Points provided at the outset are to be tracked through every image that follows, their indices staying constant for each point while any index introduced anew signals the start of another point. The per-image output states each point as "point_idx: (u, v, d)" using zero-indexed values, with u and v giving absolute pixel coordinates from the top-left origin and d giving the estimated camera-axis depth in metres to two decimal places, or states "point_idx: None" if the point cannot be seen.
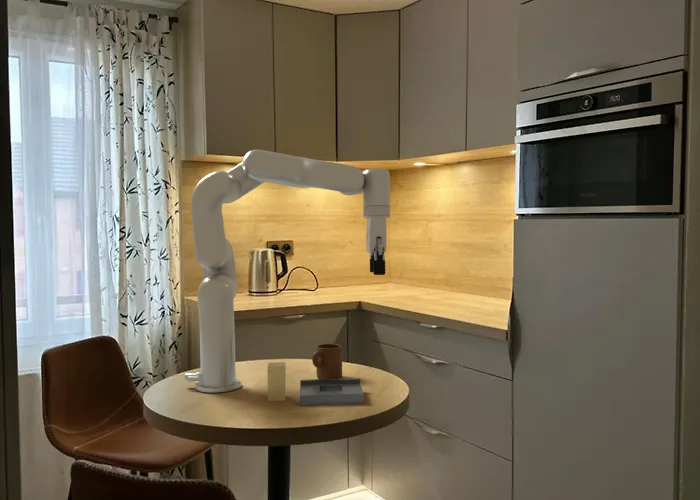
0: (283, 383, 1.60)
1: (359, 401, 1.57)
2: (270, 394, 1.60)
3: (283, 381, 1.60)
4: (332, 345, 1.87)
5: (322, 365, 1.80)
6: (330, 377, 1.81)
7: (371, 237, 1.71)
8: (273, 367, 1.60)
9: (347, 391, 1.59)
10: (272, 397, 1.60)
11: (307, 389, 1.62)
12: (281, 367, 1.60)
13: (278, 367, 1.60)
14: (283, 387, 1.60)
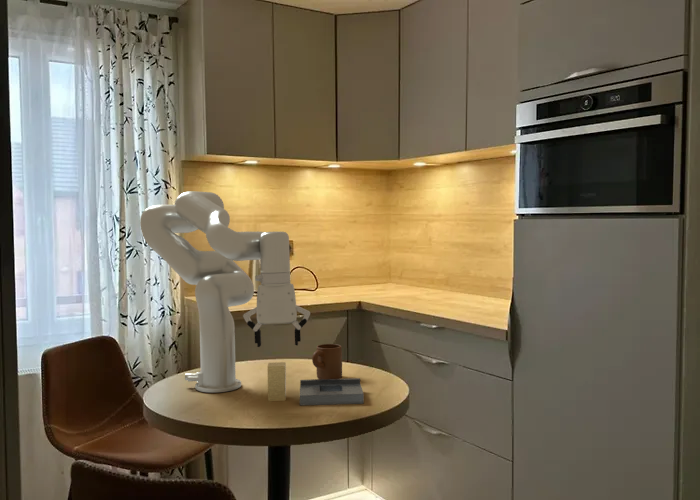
0: (283, 383, 1.60)
1: (359, 401, 1.57)
2: (270, 394, 1.60)
3: (283, 381, 1.60)
4: (332, 345, 1.87)
5: (322, 365, 1.80)
6: (330, 377, 1.81)
7: (295, 305, 1.60)
8: (273, 367, 1.60)
9: (347, 391, 1.59)
10: (272, 397, 1.60)
11: (307, 389, 1.62)
12: (281, 367, 1.60)
13: (278, 367, 1.60)
14: (283, 387, 1.60)
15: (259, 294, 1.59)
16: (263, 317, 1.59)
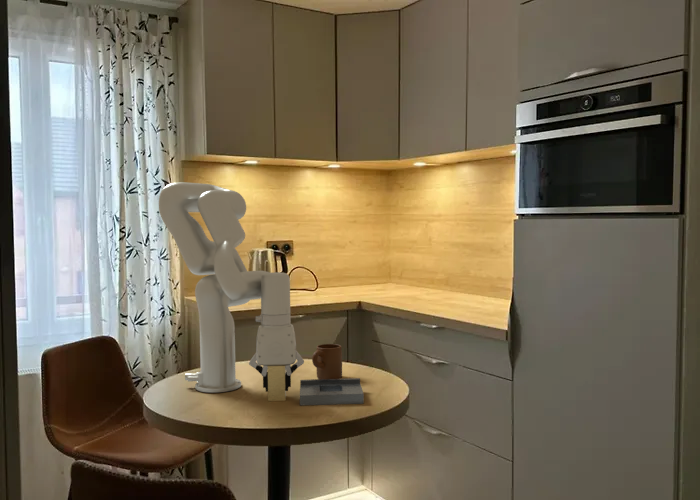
0: (283, 383, 1.60)
1: (359, 401, 1.57)
2: (270, 394, 1.60)
3: (283, 381, 1.60)
4: (332, 345, 1.87)
5: (322, 365, 1.80)
6: (330, 377, 1.81)
7: (295, 347, 1.60)
8: (273, 367, 1.60)
9: (347, 391, 1.59)
10: (272, 397, 1.60)
11: (307, 389, 1.62)
12: (281, 367, 1.60)
13: (278, 367, 1.60)
14: (283, 387, 1.60)
15: (259, 335, 1.59)
16: (263, 358, 1.59)
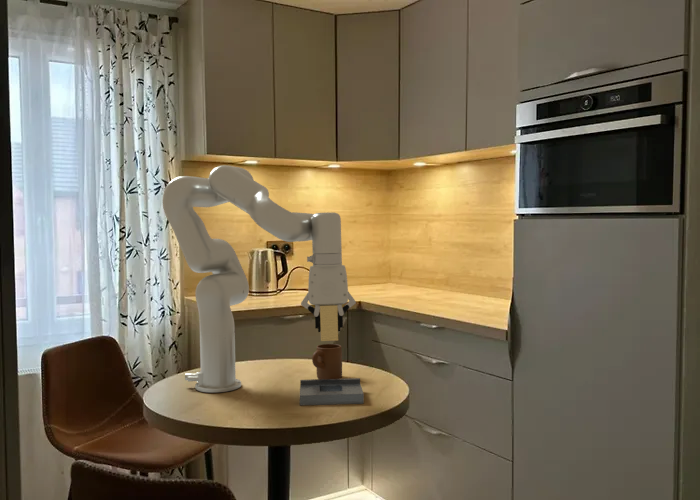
0: (336, 323, 1.59)
1: (359, 401, 1.57)
2: (323, 334, 1.59)
3: (336, 321, 1.59)
4: (332, 345, 1.87)
5: (322, 365, 1.80)
6: (330, 377, 1.81)
7: (347, 287, 1.60)
8: (326, 306, 1.59)
9: (347, 391, 1.59)
10: (325, 337, 1.59)
11: (307, 389, 1.62)
12: (334, 306, 1.59)
13: (331, 306, 1.59)
14: (336, 327, 1.60)
15: (311, 275, 1.59)
16: (315, 298, 1.59)
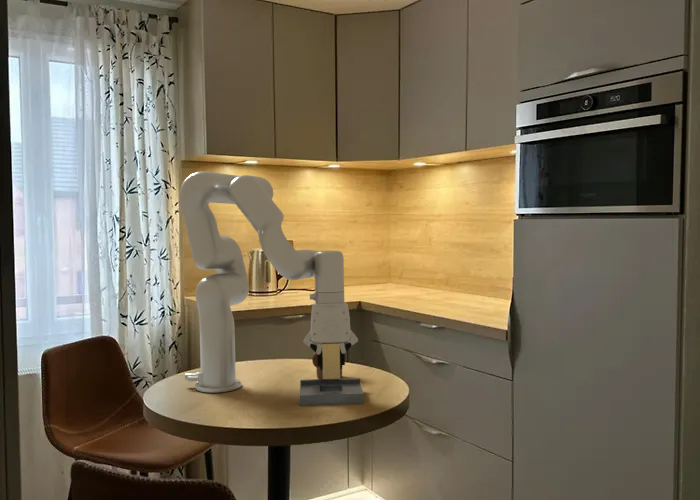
0: (338, 361, 1.60)
1: (359, 401, 1.57)
2: (325, 372, 1.60)
3: (338, 359, 1.60)
4: None
5: None
6: None
7: (349, 325, 1.60)
8: (328, 345, 1.60)
9: (347, 391, 1.59)
10: (327, 375, 1.60)
11: (307, 389, 1.62)
12: (336, 345, 1.60)
13: (333, 345, 1.60)
14: (338, 365, 1.60)
15: (314, 313, 1.59)
16: (318, 336, 1.59)
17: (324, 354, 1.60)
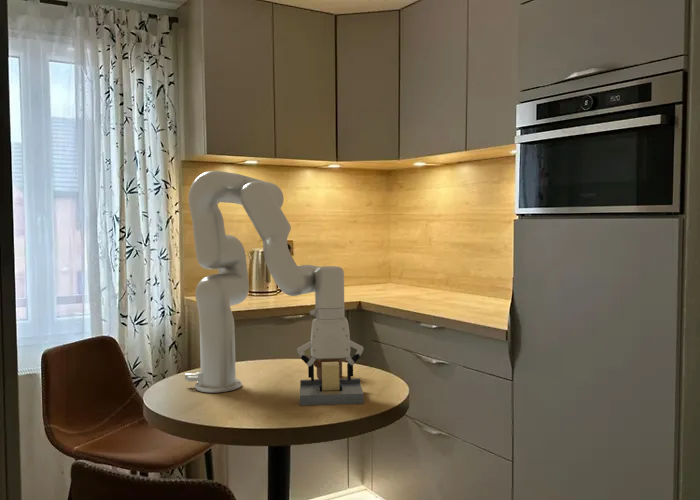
0: (337, 382, 1.60)
1: (359, 401, 1.57)
2: None
3: (337, 380, 1.60)
4: None
5: None
6: None
7: (349, 341, 1.60)
8: (327, 366, 1.60)
9: (347, 391, 1.59)
10: None
11: (307, 389, 1.62)
12: (335, 366, 1.60)
13: (332, 366, 1.60)
14: (337, 387, 1.60)
15: (314, 329, 1.59)
16: (317, 352, 1.59)
17: (324, 376, 1.60)
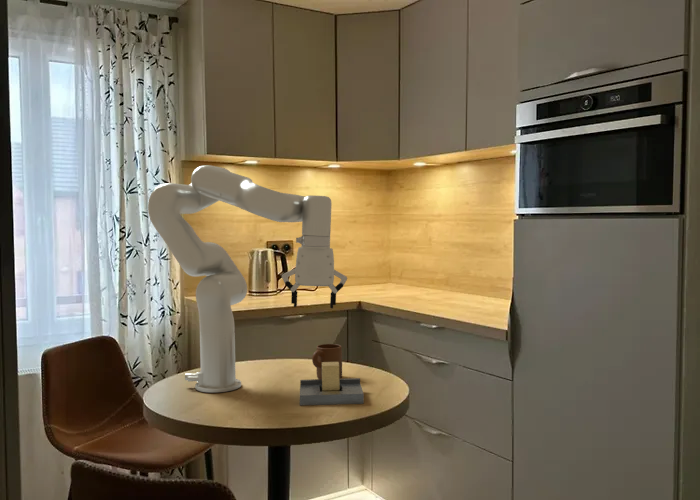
0: (337, 382, 1.60)
1: (359, 401, 1.57)
2: None
3: (337, 380, 1.60)
4: (332, 345, 1.87)
5: None
6: None
7: (333, 269, 1.63)
8: (327, 366, 1.60)
9: (347, 391, 1.59)
10: None
11: (307, 389, 1.62)
12: (335, 366, 1.60)
13: (332, 366, 1.60)
14: (337, 386, 1.60)
15: (299, 256, 1.62)
16: (301, 278, 1.62)
17: (324, 376, 1.60)
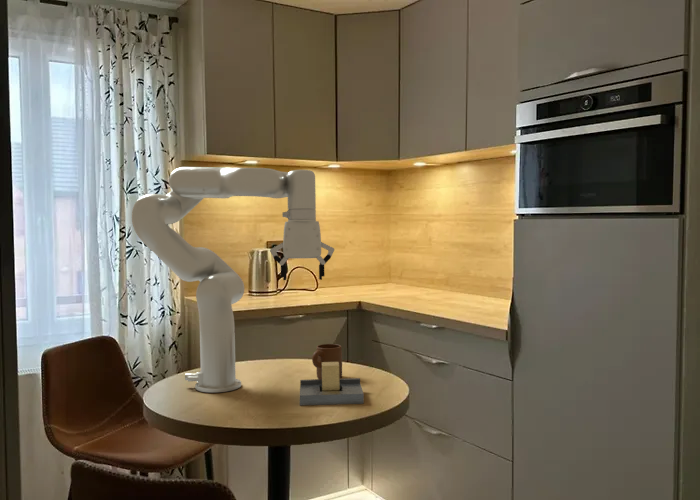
0: (337, 382, 1.60)
1: (359, 401, 1.57)
2: None
3: (337, 380, 1.60)
4: (332, 345, 1.87)
5: None
6: None
7: (320, 241, 1.67)
8: (327, 366, 1.60)
9: (347, 391, 1.59)
10: None
11: (307, 389, 1.62)
12: (335, 366, 1.60)
13: (332, 366, 1.60)
14: (337, 386, 1.60)
15: (286, 229, 1.66)
16: (289, 251, 1.66)
17: (324, 376, 1.60)
